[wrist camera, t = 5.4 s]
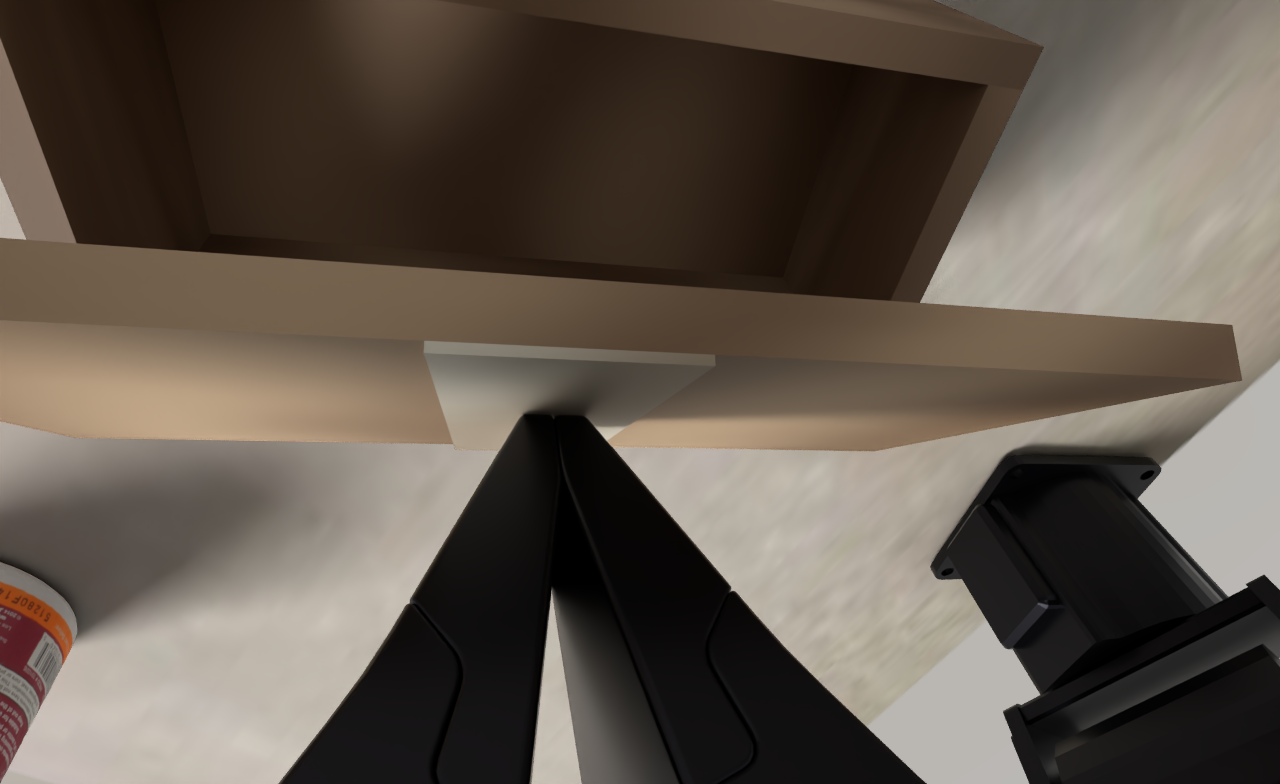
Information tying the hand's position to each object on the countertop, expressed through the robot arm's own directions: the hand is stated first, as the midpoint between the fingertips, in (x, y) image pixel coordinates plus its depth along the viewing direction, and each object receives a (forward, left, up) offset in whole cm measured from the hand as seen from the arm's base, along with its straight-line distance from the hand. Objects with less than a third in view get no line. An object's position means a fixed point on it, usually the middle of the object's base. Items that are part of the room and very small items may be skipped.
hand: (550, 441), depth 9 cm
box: (0, -1, -8) cm, 8 cm away
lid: (0, -1, -1) cm, 1 cm away
